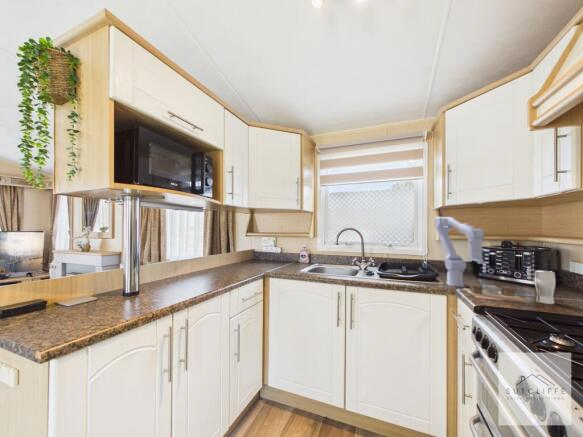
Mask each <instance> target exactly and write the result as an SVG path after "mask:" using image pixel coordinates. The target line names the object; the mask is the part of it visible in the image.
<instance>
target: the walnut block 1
mask: <svg viewBox="0 0 583 437" xmlns="http://www.w3.org/2000/svg"><path fill="white" fill-rule="evenodd" d="M469 287H470V291H471V292H473V293H480V294H482V289H483V285H481V284H478V283H470V286H469Z"/></svg>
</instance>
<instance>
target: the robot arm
mask: <svg viewBox="0 0 583 437" xmlns="http://www.w3.org/2000/svg"><path fill="white" fill-rule="evenodd" d="M433 225H434V227H435V230H436V233H437V236H438V237H439V240H440V242H441V245H442V248H443V250H444V253H445V254H446V257H445V258H444V265H445V268H446V270H447V274H446V280H447V281H445V283H446V284H447V285H448V286H450V287H451V286H452V287H459V288H460V287H461V288H466V286H465V285H464V284H463V281H464V280H463V279H464V278H463V273H464V272H465V270H466V268H467V263H466V261H465V260H464V259H463V257H462V256H460V255H458V254H457V252H456V249H455V247H454V245H453V243H452V240H451V238H450V236H449V235H450V234H449V233H448V232H449V231H451V229H452V227H453V228H456V229H457V230H458V232H459V233H461V234H463V235H465V236H466V238H467V241H468V257H466V260H468V265H469V267H470V270H471V274H472V275H473V276H479V274H480V270H481V268H482V266H483V264H484V260H483V240H482V239H484V238H485V234H486V233H485V231H484V230H483V229H482V228H476V227H475V226H472V225H470V224H469V223H468V222H464V223H461V222H459V221H458V220H456V219H455V218H453V217H452V216H437V217H435V219H434V222H433Z"/></svg>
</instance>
